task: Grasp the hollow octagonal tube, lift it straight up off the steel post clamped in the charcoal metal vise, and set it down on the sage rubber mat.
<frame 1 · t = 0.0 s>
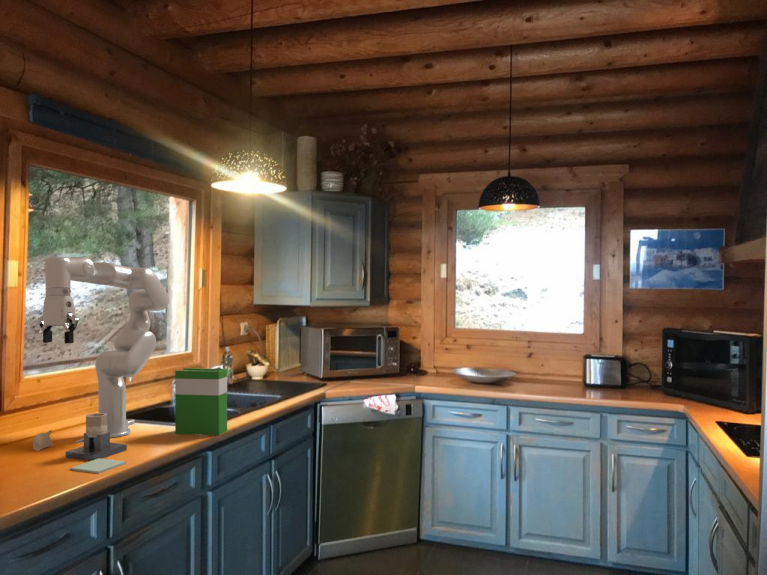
hand: (58, 342, 204), 37 cm above the worktop, tool pointing down, fingers open, 9 cm apart
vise: (96, 453, 199), on the worktop
hollow octagonal tube: (96, 432, 199), point 7 cm above the worktop, touching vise
decorative ornament: (43, 448, 207), on the worktop
green banded box: (201, 432, 229), on the worktop
mat: (98, 466, 184), on the worktop
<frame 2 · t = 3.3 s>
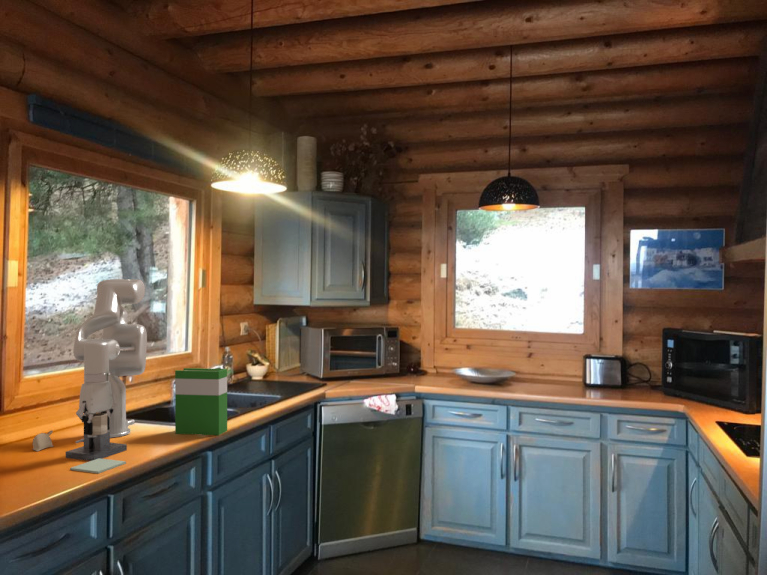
hand: (96, 431, 199), 7 cm above the worktop, tool pointing down, fingers closed on hollow octagonal tube, 6 cm apart
hollow octagonal tube: (96, 432, 199), point 7 cm above the worktop, touching gripper, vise
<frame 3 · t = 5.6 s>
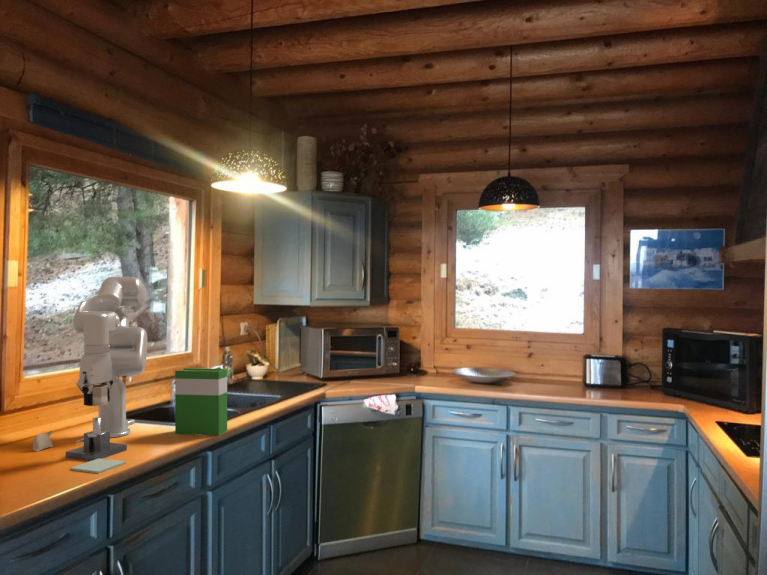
hand: (96, 402, 199), 17 cm above the worktop, tool pointing down, fingers closed on hollow octagonal tube, 6 cm apart
hollow octagonal tube: (96, 404, 199), point 17 cm above the worktop, touching gripper
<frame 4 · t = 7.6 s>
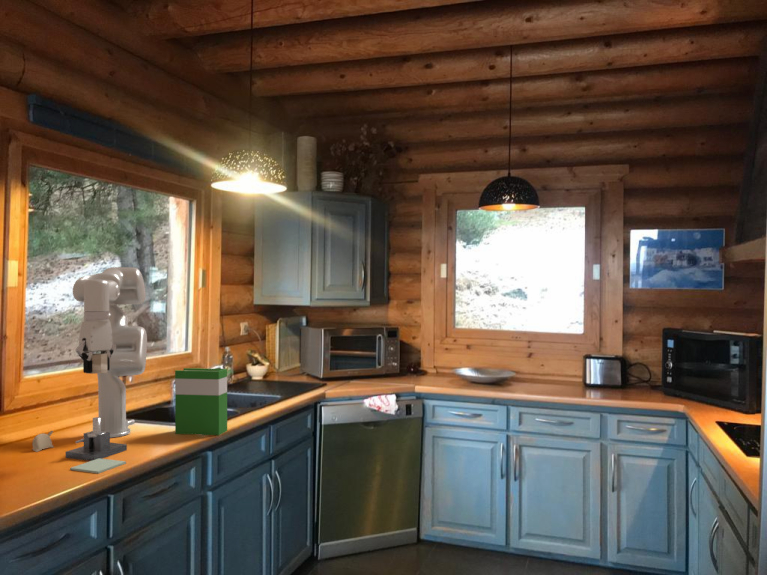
hand: (96, 371, 196), 28 cm above the worktop, tool pointing down, fingers closed on hollow octagonal tube, 6 cm apart
hollow octagonal tube: (96, 372, 196), point 28 cm above the worktop, touching gripper
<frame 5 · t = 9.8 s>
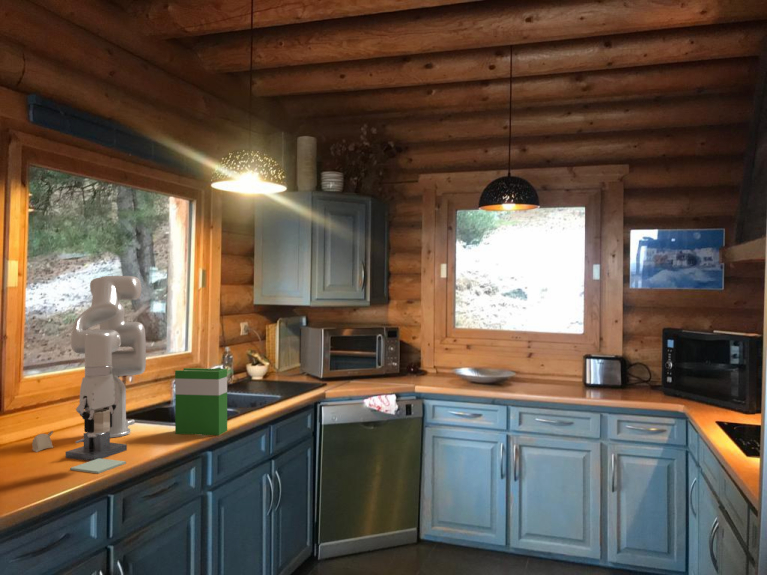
hand: (98, 429, 185), 12 cm above the worktop, tool pointing down, fingers closed on hollow octagonal tube, 6 cm apart
hollow octagonal tube: (98, 430, 185), point 11 cm above the worktop, touching gripper
when the fingers open (3 cm above the worktop, at t = 11.9 s): hollow octagonal tube drops 2 cm, resting on mat.
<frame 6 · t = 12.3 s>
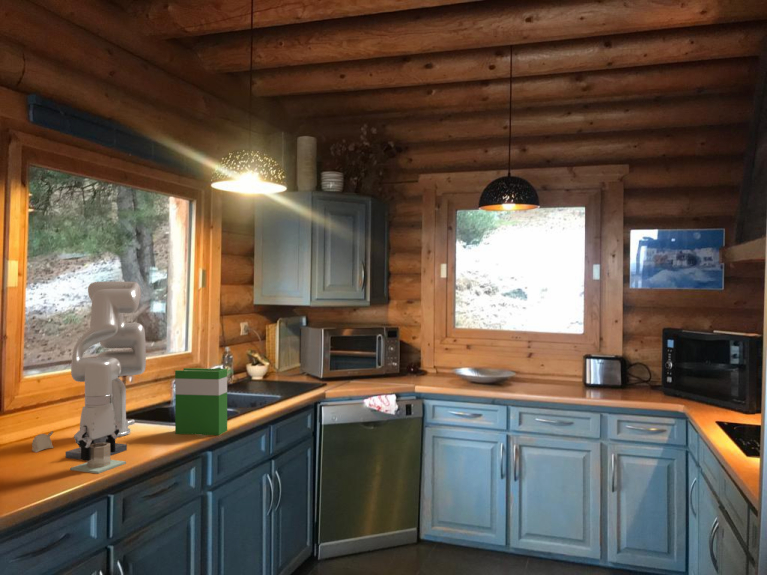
hand: (98, 455, 184), 3 cm above the worktop, tool pointing down, fingers open, 9 cm apart
hollow octagonal tube: (98, 464, 185), point 1 cm above the worktop, touching mat
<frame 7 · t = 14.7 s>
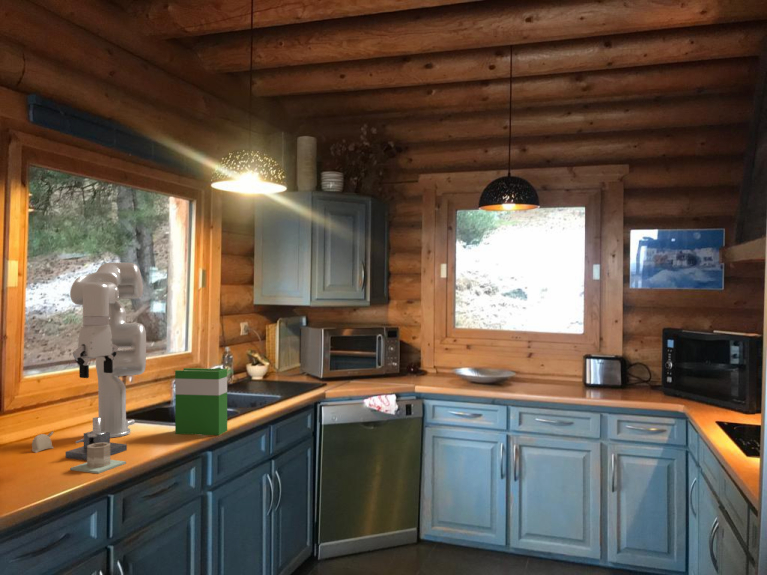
hand: (96, 375, 190), 27 cm above the worktop, tool pointing down, fingers open, 9 cm apart
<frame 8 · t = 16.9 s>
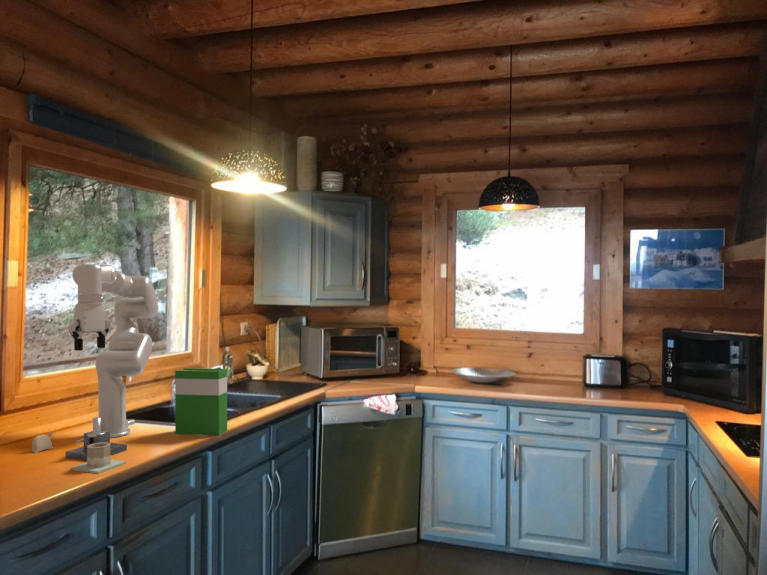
hand: (90, 349, 207), 34 cm above the worktop, tool pointing down, fingers open, 9 cm apart
at the end: hollow octagonal tube inside the target area on the mat (0.2 cm from its centre), point 0.6 cm above the mat's base; hollow octagonal tube tilted 0°; the gripper is holding nothing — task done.
